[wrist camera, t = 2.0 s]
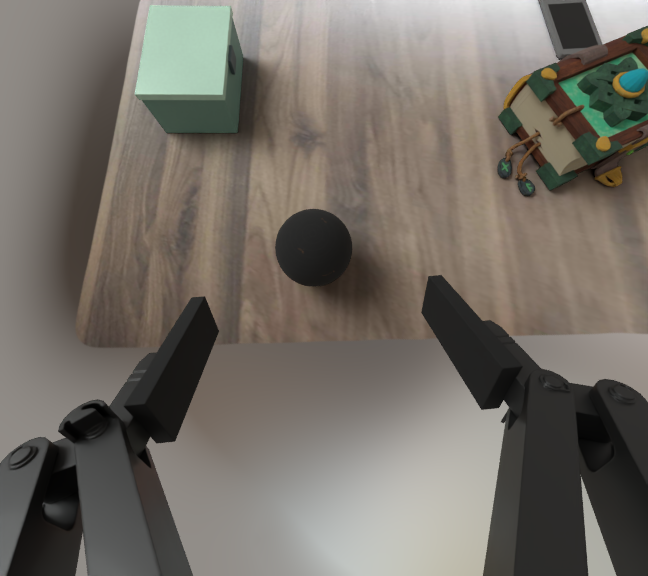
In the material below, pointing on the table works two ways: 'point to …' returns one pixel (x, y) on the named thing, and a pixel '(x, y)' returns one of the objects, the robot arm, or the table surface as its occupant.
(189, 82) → the box
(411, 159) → the table surface
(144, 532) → the robot arm
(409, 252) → the table surface
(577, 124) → the book
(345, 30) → the table surface
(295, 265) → the speaker
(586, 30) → the smartphone
